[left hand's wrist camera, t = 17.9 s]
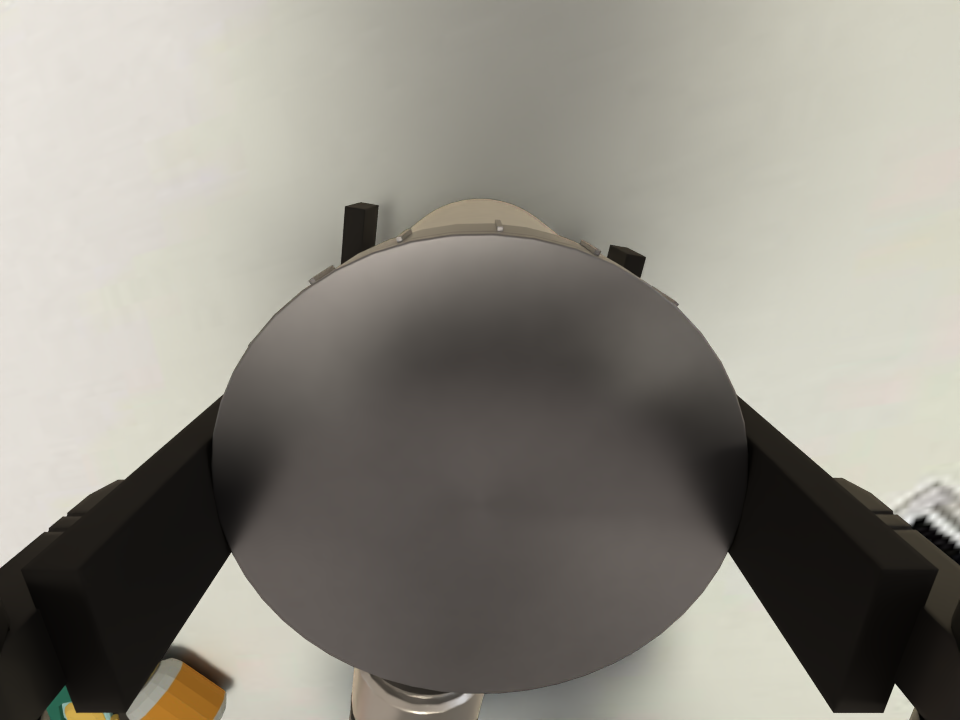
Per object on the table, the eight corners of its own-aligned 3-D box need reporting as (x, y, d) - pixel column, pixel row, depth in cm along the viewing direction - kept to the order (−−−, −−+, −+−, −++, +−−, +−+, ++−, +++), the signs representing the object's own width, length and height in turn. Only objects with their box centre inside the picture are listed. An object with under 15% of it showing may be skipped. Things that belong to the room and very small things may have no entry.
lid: (365, 669, 14) (348, 740, 13) (157, 323, 11) (92, 353, 9) (746, 565, 13) (788, 627, 11) (647, 137, 10) (686, 129, 8)
